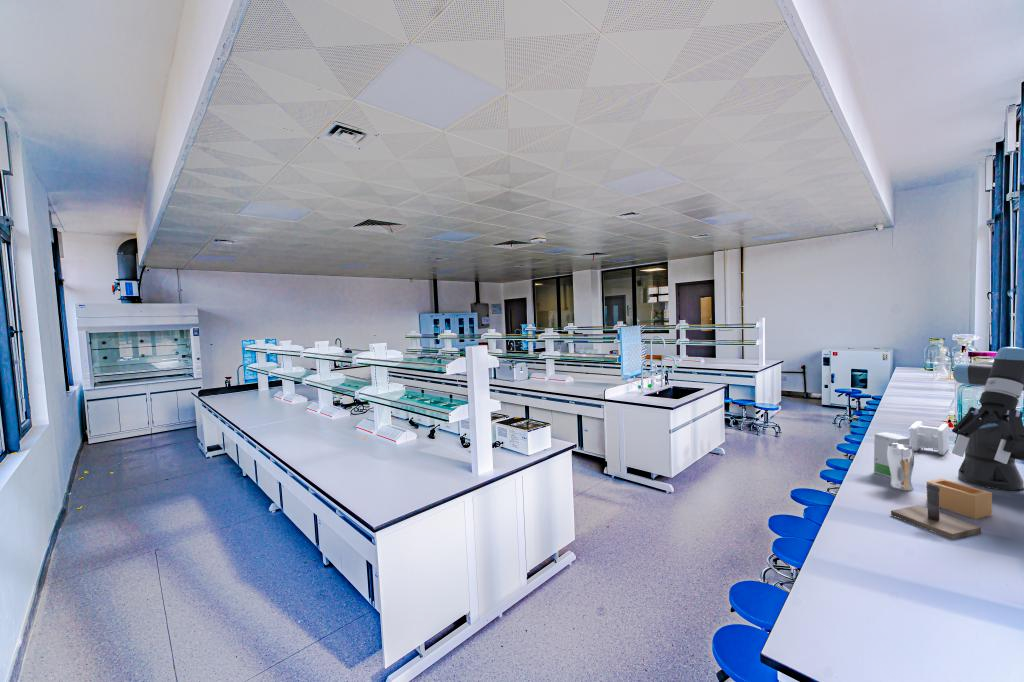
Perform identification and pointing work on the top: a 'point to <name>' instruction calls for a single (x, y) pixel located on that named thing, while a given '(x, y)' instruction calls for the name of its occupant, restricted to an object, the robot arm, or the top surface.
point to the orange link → (963, 499)
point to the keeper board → (937, 526)
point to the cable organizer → (929, 437)
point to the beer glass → (900, 466)
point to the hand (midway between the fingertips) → (977, 458)
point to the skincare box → (885, 450)
